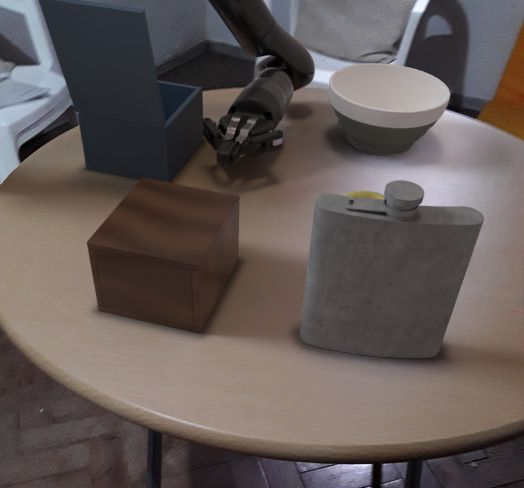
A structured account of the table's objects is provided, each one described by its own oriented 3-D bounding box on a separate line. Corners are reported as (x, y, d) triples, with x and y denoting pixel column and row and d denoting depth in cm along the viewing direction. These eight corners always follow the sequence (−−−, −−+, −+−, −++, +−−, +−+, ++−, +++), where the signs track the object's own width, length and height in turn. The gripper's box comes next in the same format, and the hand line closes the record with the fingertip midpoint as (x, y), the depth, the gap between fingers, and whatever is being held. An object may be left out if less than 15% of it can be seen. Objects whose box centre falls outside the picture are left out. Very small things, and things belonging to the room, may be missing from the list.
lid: (40, -6, 76) (37, -3, 76) (144, 8, 74) (142, 12, 74) (77, 108, 90) (75, 111, 90) (166, 123, 88) (164, 127, 88)
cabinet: (147, 242, 84) (141, 177, 77) (238, 261, 82) (239, 195, 75) (98, 310, 73) (86, 241, 67) (200, 333, 71) (198, 265, 65)
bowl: (423, 180, 99) (438, 122, 92) (306, 153, 104) (312, 95, 97) (445, 130, 112) (459, 76, 106) (340, 108, 117) (348, 55, 110)
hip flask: (437, 340, 72) (489, 184, 58) (440, 365, 70) (496, 207, 56) (300, 325, 73) (319, 168, 59) (297, 349, 70) (317, 190, 56)
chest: (128, 126, 108) (122, 74, 101) (203, 140, 105) (202, 87, 99) (86, 169, 97) (77, 113, 90) (169, 184, 94) (165, 128, 88)
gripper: (218, 79, 97) (177, 126, 85) (301, 92, 95) (271, 142, 83) (218, 126, 103) (180, 176, 91) (297, 139, 101) (268, 192, 88)
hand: (224, 160), depth 87 cm, fingers closed
